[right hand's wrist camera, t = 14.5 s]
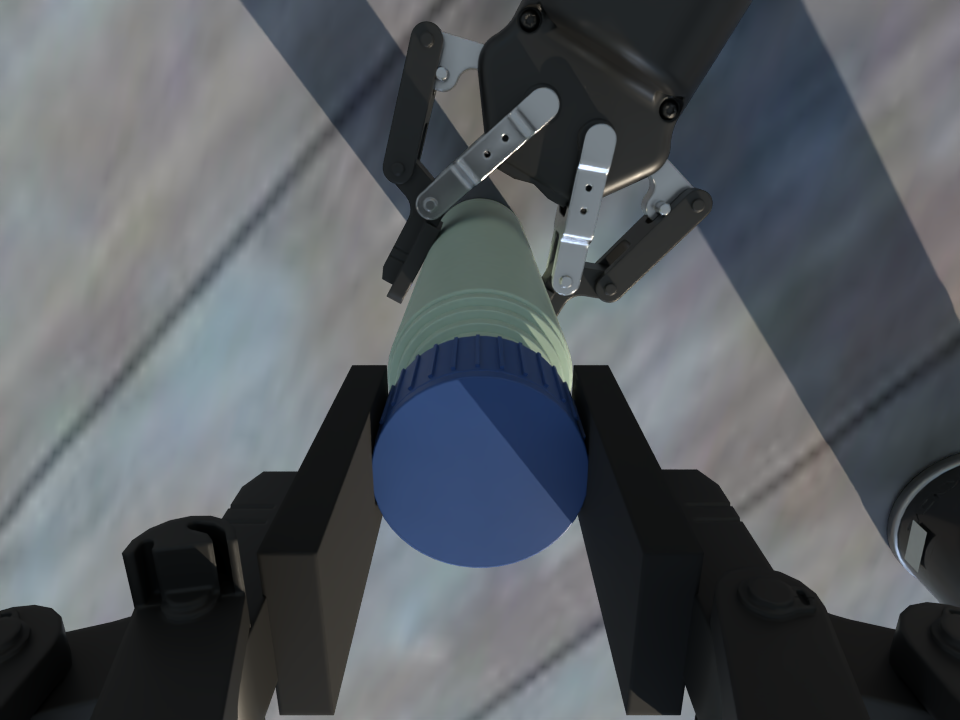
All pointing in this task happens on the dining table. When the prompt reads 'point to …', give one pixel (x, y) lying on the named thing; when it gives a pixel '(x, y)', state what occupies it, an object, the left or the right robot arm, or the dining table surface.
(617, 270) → the left robot arm
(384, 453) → the cap
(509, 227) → the bottle
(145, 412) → the dining table surface
